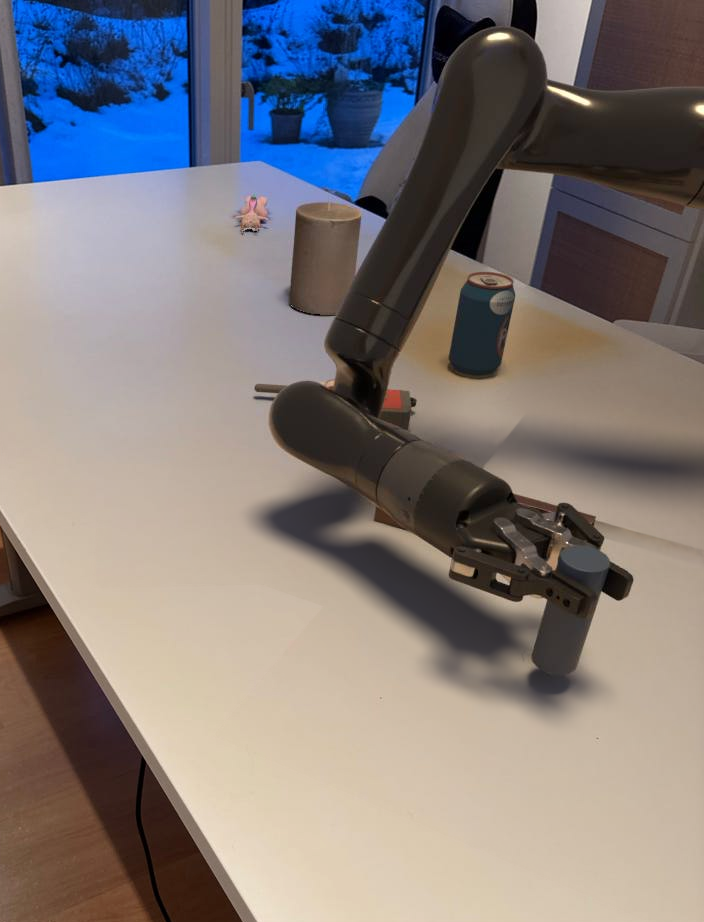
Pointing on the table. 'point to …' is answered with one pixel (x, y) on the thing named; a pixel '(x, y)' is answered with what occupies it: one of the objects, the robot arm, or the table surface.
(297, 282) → the pillar candle
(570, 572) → the peg
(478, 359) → the soda can
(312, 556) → the table surface
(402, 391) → the walkie-talkie
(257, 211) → the rabbit figure
